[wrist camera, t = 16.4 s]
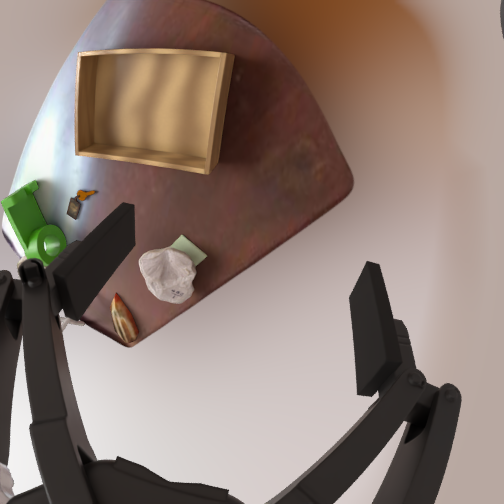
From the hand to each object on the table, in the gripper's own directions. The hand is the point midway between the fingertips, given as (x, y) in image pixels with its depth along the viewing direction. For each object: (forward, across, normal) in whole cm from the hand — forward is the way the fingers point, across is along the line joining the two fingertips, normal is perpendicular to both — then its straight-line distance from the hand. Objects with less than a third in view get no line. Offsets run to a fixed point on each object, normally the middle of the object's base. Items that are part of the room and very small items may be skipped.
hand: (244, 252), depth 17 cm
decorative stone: (+24, -23, -40) cm, 52 cm away
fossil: (+23, -12, -22) cm, 34 cm away
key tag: (+23, -29, -15) cm, 40 cm away
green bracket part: (+19, -40, -20) cm, 49 cm away
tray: (+24, -17, +3) cm, 29 cm away
